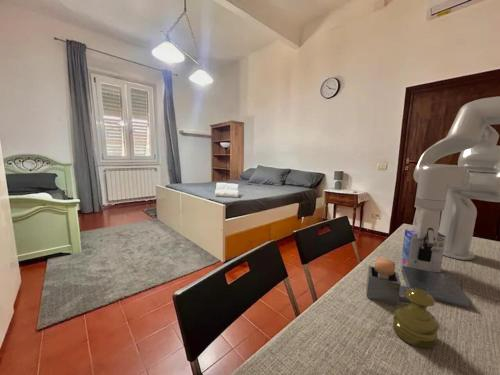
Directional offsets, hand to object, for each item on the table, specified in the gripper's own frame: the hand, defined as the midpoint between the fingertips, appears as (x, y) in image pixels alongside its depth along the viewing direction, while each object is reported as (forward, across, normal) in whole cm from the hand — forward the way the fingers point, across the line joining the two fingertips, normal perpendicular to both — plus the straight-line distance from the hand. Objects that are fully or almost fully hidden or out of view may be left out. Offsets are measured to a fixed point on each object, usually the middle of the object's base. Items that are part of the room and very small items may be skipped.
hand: (421, 255), depth 74 cm
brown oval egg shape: (0, +24, -13) cm, 27 cm away
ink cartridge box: (+4, 0, 0) cm, 4 cm away
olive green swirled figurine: (+4, +36, -8) cm, 37 cm away
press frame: (+4, +17, -5) cm, 18 cm away
